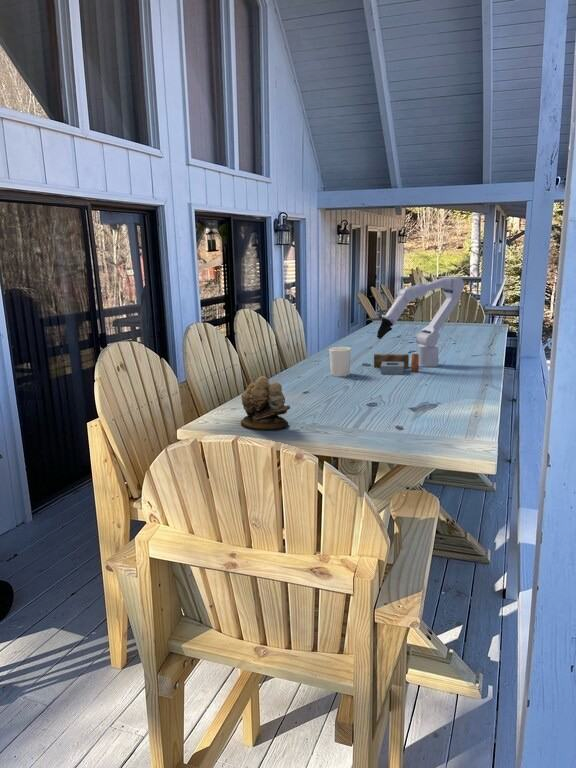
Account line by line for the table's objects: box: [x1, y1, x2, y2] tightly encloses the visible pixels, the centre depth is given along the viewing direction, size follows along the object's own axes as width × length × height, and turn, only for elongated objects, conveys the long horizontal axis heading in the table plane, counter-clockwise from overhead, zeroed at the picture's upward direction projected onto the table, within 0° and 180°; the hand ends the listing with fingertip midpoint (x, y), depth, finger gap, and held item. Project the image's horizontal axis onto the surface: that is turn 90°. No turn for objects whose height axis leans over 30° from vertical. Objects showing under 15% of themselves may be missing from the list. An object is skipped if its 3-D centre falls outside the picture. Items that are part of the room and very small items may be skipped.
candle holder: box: [328, 346, 352, 377], centre depth 247 cm, size 10×10×12 cm
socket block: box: [380, 362, 405, 375], centre depth 250 cm, size 10×10×4 cm
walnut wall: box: [373, 353, 410, 369], centre depth 259 cm, size 16×3×6 cm, turn 77°
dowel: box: [410, 353, 420, 374], centre depth 248 cm, size 3×3×8 cm
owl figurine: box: [240, 375, 291, 432], centre depth 180 cm, size 18×12×17 cm, turn 65°
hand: (378, 336), depth 248 cm, fingers open, 7 cm apart
